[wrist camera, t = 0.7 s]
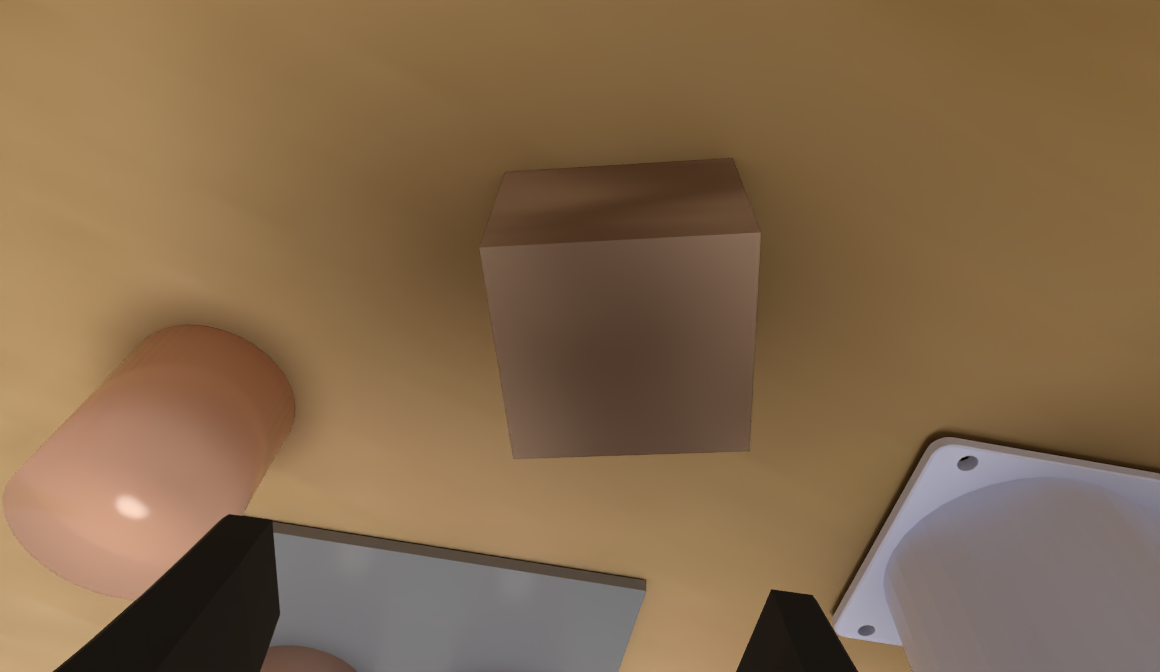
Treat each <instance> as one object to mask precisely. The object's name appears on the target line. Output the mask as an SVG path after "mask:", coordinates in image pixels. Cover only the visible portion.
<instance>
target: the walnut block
mask: <svg viewBox="0 0 1160 672" xmlns="http://www.w3.org/2000/svg"><path fill="white" fill-rule="evenodd" d="M760 240H761V231H760V229H759V226H758V224H757V221H756V218H755V216H754V213H753V210H752V208H751V205H750V203H749V200H748V197H747V195H746V192H745V190H744V187H743V184H742V182H741V179H740V177H739V174H738V171H737V169H736V166H735V163H734V161H733V158H724V159H708V160H692V161H675V162H659V163H643V164H627V165H610V166H594V167H578V168H561V169H545V170H529V171H513V172H505V174H504V177H503V180H502V183H501V186H500V189H499V191H498V194H497V197H496V200H495V203H494V206H493V209H492V212H491V215H490V217H489V220H488V223H487V226H486V229H485V232H484V235H483V238H482V241H481V243H480V246H479V250H480V256H481V263H482V269H483V275H484V281H485V287H486V293H487V300H488V306H489V312H490V318H491V324H492V331H493V337H494V343H495V349H496V355H497V361H498V368H499V374H500V380H501V386H502V392H503V398H504V405H505V411H506V417H507V423H508V429H509V435H510V442H511V448H512V454H513V459H529V458H559V457H590V456H620V455H650V454H680V453H711V452H741V451H750V433H751V414H752V395H753V375H754V356H755V337H756V318H757V298H758V279H759V260H760Z"/></svg>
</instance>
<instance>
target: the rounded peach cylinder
mask: <svg viewBox="0 0 1160 672" xmlns="http://www.w3.org/2000/svg"><path fill="white" fill-rule="evenodd" d="M294 417H295V400H294V396H293V392H292V390H291V387H290V385H289V383H288V381H287V379H286V377H285V376H284V374H283V373H282V371H281V370H280V369H279V367H278V366H277V365H276V364H275V363H274V362H273V361H272V360H271V359H270V358H269V357H268V356H267V355H266V354H265V353H264V352H262V351H261V350H260V349H258V348H257V347H256V346H254V345H253V344H251V343H249V342H248V341H246V340H244V339H242V338H240V337H238V336H236V335H234V334H231V333H229V332H226V331H223V330H220V329H216V328H212V327H207V326H199V325H181V326H173V327H169V328H165V329H162V330H160V331H157V332H155V333H154V334H152V335H150V336H149V337H147V338H146V339H145V340H144V341H143V342H141V344H140V345H139V346H138V347H137V348H136V349H135V350H134V351H133V352H132V353H131V354H130V355H129V356H128V357H127V358H126V359H125V360H124V361H123V362H122V363H121V364H120V365H119V366H118V367H117V368H116V369H115V370H114V371H113V372H112V373H111V374H110V375H109V377H108V378H107V379H106V380H105V381H104V382H103V383H102V384H101V385H100V386H99V387H98V388H97V389H96V390H95V391H94V392H93V393H92V394H91V395H90V396H89V397H88V398H87V399H86V400H85V401H84V402H83V403H82V404H81V405H80V406H79V407H78V408H77V409H76V411H75V412H74V413H73V414H72V415H71V416H70V417H69V418H68V419H67V420H66V421H65V422H64V423H63V424H62V425H61V426H60V427H59V428H58V429H57V430H56V431H55V432H54V433H53V434H52V435H51V436H50V437H49V438H48V439H47V440H46V441H45V442H44V444H43V445H42V446H41V447H40V448H39V449H38V450H37V451H36V452H35V453H34V454H33V455H32V456H31V457H30V458H29V459H28V460H27V461H26V462H25V463H24V464H23V465H22V466H21V467H20V468H19V469H18V470H17V471H16V472H15V473H14V475H13V476H12V477H11V478H10V480H9V481H8V483H7V485H6V487H5V490H4V495H3V510H4V514H5V518H6V520H7V523H8V526H9V528H10V529H11V531H12V533H13V535H14V536H15V537H16V539H17V540H18V541H19V543H20V544H21V545H22V546H23V548H24V549H25V550H26V551H27V552H28V553H29V554H30V555H31V556H32V557H34V558H35V559H36V560H37V561H38V562H39V563H41V564H42V565H43V566H45V567H46V568H47V569H49V570H50V571H52V572H53V573H55V574H57V575H58V576H60V577H61V578H63V579H65V580H67V581H69V582H71V583H73V584H75V585H78V586H80V587H82V588H85V589H87V590H90V591H93V592H96V593H99V594H103V595H106V596H110V597H115V598H120V599H127V600H136V599H138V598H139V597H140V596H141V595H142V594H143V593H144V592H145V591H146V590H147V589H148V588H150V587H151V586H152V585H153V584H154V583H155V582H156V581H157V580H158V579H159V578H160V577H161V576H162V575H163V574H165V573H166V572H167V571H168V570H169V569H170V568H171V567H172V566H173V565H174V564H175V563H176V562H177V561H178V560H179V559H180V558H181V557H183V556H184V555H185V554H186V553H187V552H188V551H189V550H190V549H191V548H192V547H193V546H194V545H195V544H196V543H197V542H198V541H199V540H200V539H201V538H202V537H203V536H204V535H205V534H206V533H207V532H208V531H209V530H210V529H211V528H212V527H213V526H215V525H216V524H217V523H218V522H219V521H220V520H221V519H222V518H223V517H225V516H227V515H228V514H233V515H240V516H242V515H243V513H244V511H245V509H246V508H247V506H248V504H249V502H250V500H251V499H252V497H253V495H254V493H255V492H256V490H257V488H258V486H259V484H260V483H261V481H262V479H263V477H264V476H265V474H266V472H267V470H268V469H269V467H270V465H271V463H272V461H273V460H274V458H275V456H276V454H277V453H278V451H279V449H280V447H281V445H282V444H283V442H284V440H285V438H286V437H287V435H288V433H289V431H290V429H291V427H292V425H293V421H294Z"/></svg>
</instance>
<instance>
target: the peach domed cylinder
mask: <svg viewBox="0 0 1160 672" xmlns="http://www.w3.org/2000/svg"><path fill="white" fill-rule="evenodd" d="M260 672H357V671H356V670H355V669H354V668H353V667H351V666H350V665H349V664H348V663H346V662H345V661H343V660H341V659H340V658H338V657H336V656H334V655H331V654H329V653H327V652H324V651H321V650H317V649H314V648H309V647H303V646H291V645H284V646H274V647H269V648H268V651H267V654H266V657H265V659H264V662H263V665H262V668H261V670H260Z"/></svg>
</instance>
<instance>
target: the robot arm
mask: <svg viewBox="0 0 1160 672" xmlns="http://www.w3.org/2000/svg"><path fill="white" fill-rule="evenodd" d="M966 456H970V457H969V458H968V459H966V460H963V461H959V460H960V459H961V458H963V457H966ZM279 616H280V605H279V593H278V581H277V569H276V558H275V546H274V534H273V522H272V520H269V519H262V518H254V517H247V516H240V515H233V514H228V515H227V516H225V517H223V518H222V519H221V520H220V521H219V522H218V523H217V524H216V525H215V526H213V527H212V528H211V529H210V530H209V531H208V532H207V533H206V534H205V535H204V536H203V537H202V538H201V539H200V540H199V541H198V542H197V543H196V544H195V545H194V546H193V547H192V548H191V549H190V550H189V551H188V552H187V553H186V554H185V555H184V556H183V557H181V558H180V559H179V560H178V561H177V562H176V563H175V564H174V565H173V566H172V567H171V568H170V569H169V570H168V571H167V572H166V573H165V574H163V575H162V576H161V577H160V578H159V579H158V580H157V581H156V582H155V583H154V584H153V585H152V586H151V587H150V588H148V589H147V590H146V591H145V592H144V593H143V594H142V595H141V596H140V597H139V598H138V599H136V600H135V601H134V602H133V603H132V604H131V605H130V606H129V607H127V608H126V609H125V610H124V611H123V612H122V613H121V614H120V615H118V616H117V617H116V618H115V619H114V620H113V621H112V622H111V623H109V624H108V625H107V626H106V627H105V628H104V629H103V630H102V631H101V632H99V633H98V634H97V635H96V636H95V637H94V638H93V639H91V640H90V641H89V642H88V643H87V644H86V645H84V646H83V647H82V648H81V649H80V650H79V651H77V652H76V653H75V654H74V655H73V656H71V657H70V658H69V659H68V660H67V661H65V662H64V663H63V664H62V665H60V666H59V667H58V668H57V669H56V670H54V671H53V672H260V670H261V668H262V665H263V662H264V659H265V657H266V654H267V651H268V648H269V645H270V642H271V640H272V637H273V634H274V631H275V628H276V625H277V622H278V619H279ZM832 622H833V626H834V629H835V632H836V633H837V634H838V635H840V636H843V637H847V638H854V639H860V640H866V641H873V642H879V643H886V644H892V645H899V646H903V648H904V651H905V654H906V656H907V659H908V662H909V665H910V667H911V670H912V672H1160V473H1155V472H1149V471H1143V470H1137V469H1132V468H1126V467H1120V466H1114V465H1109V464H1103V463H1097V462H1092V461H1086V460H1080V459H1074V458H1069V457H1063V456H1057V455H1051V454H1046V453H1040V452H1034V451H1029V450H1023V449H1017V448H1011V447H1006V446H1000V445H994V444H988V443H983V442H977V441H971V440H966V439H960V438H954V437H944V438H941V439H937V440H936V441H934V442H932V443H931V444H930V445H929V446H928V448H927V449H926V451H925V453H924V454H923V456H922V458H921V460H920V462H919V463H918V465H917V467H916V469H915V470H914V472H913V474H912V476H911V478H910V479H909V481H908V483H907V485H906V487H905V488H904V490H903V492H902V494H901V496H900V497H899V499H898V501H897V503H896V504H895V506H894V508H893V510H892V512H891V513H890V515H889V517H888V519H887V521H886V522H885V524H884V526H883V528H882V530H881V531H880V533H879V535H878V537H877V538H876V540H875V542H874V544H873V546H872V547H871V549H870V551H869V553H868V555H867V556H866V558H865V560H864V562H863V563H862V565H861V567H860V569H859V571H858V572H857V574H856V576H855V578H854V580H853V581H852V583H851V585H850V587H849V589H848V590H847V592H846V594H845V596H844V597H843V599H842V601H841V603H840V605H839V606H838V608H837V610H836V612H835V614H834V615H833V618H832ZM835 632H834V630H833V628H832V626H831V625H830V623H829V621H828V619H827V618H826V616H825V614H824V613H823V611H822V609H821V607H820V606H819V604H818V602H817V601H816V599H815V598H814V597H813V595H808V594H800V593H793V592H786V591H779V590H772V589H771V592H770V594H769V596H768V599H767V601H766V603H765V606H764V608H763V610H762V613H761V615H760V617H759V620H758V622H757V624H756V627H755V629H754V631H753V634H752V636H751V638H750V641H749V643H748V645H747V648H746V650H745V652H744V655H743V657H742V659H741V662H740V664H739V666H738V669H737V671H736V672H858V671H857V669H856V667H855V666H854V664H853V662H852V661H851V659H850V657H849V655H848V654H847V652H846V650H845V649H844V647H843V645H842V644H841V642H840V640H839V638H838V637H837V635H836V633H835Z"/></svg>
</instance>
